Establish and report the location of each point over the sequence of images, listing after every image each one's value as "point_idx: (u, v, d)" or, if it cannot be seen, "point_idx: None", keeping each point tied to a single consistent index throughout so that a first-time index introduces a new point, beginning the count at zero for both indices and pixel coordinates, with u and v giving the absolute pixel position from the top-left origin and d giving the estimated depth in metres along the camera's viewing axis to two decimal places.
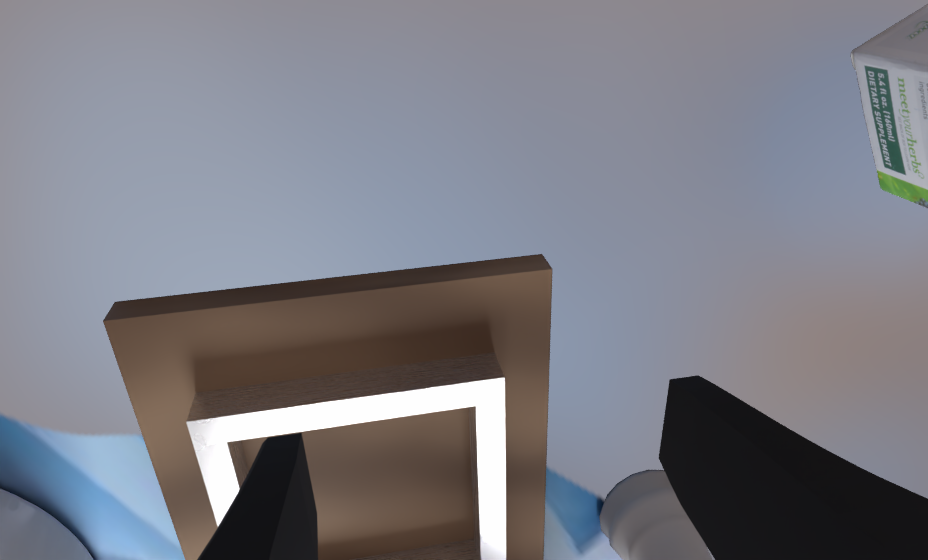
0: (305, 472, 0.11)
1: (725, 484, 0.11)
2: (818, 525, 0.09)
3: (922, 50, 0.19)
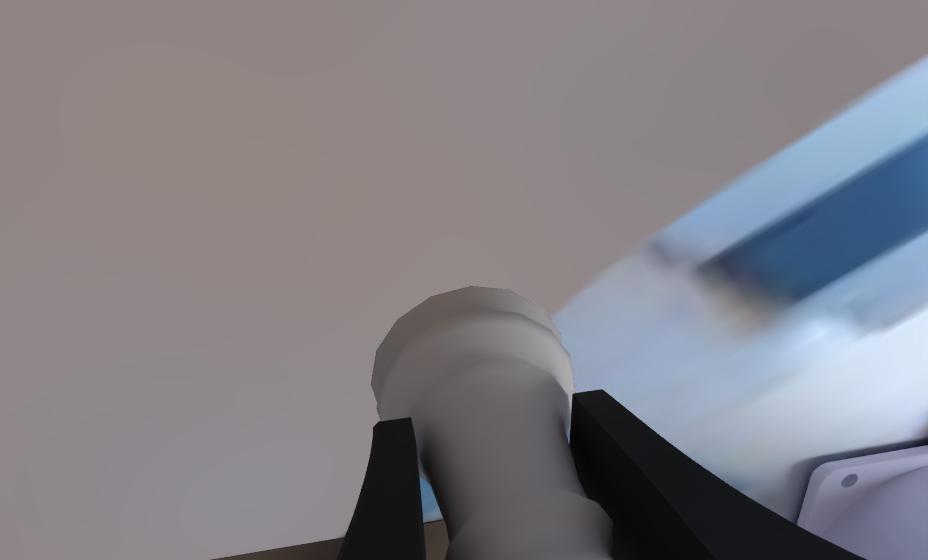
0: None
1: (616, 503, 0.11)
2: (685, 550, 0.09)
3: None
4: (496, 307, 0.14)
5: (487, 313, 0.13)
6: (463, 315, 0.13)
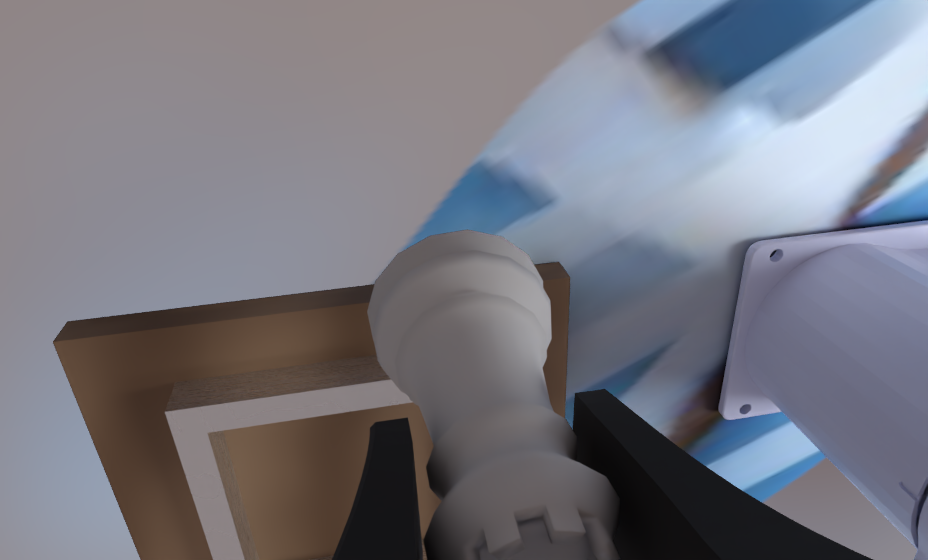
0: None
1: None
2: (688, 549, 0.09)
3: None
4: (488, 251, 0.15)
5: (481, 254, 0.14)
6: (459, 254, 0.14)
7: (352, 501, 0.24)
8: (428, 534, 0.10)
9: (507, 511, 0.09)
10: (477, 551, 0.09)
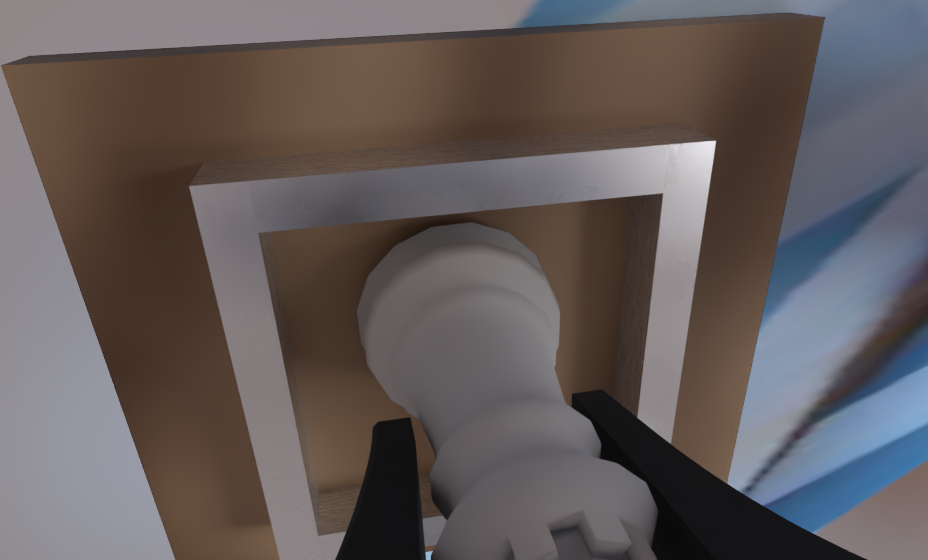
0: None
1: None
2: (684, 550, 0.09)
3: None
4: None
5: (488, 246, 0.13)
6: (464, 245, 0.13)
7: None
8: (437, 548, 0.08)
9: (537, 518, 0.08)
10: None
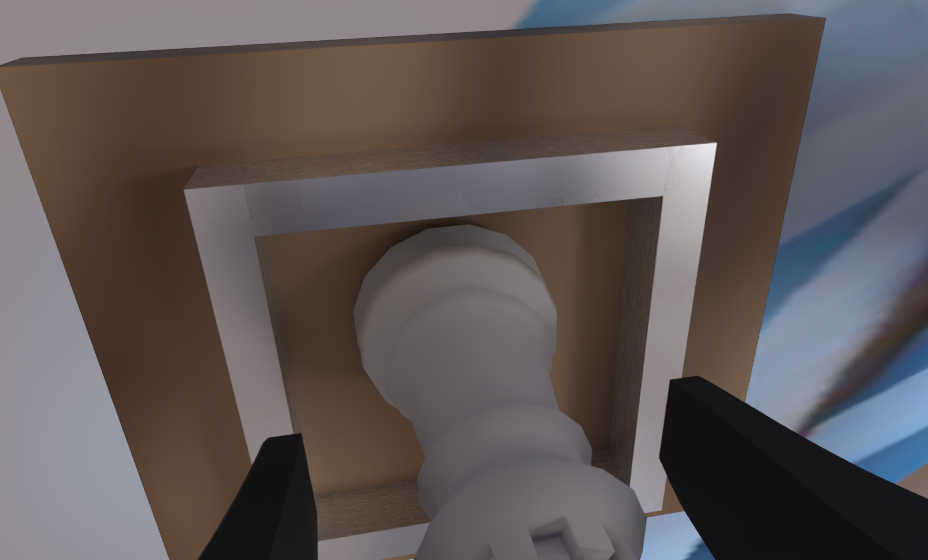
0: (305, 472, 0.11)
1: (725, 484, 0.11)
2: (818, 525, 0.09)
3: None
4: None
5: (484, 249, 0.13)
6: (460, 247, 0.13)
7: None
8: (420, 552, 0.08)
9: (519, 524, 0.08)
10: None
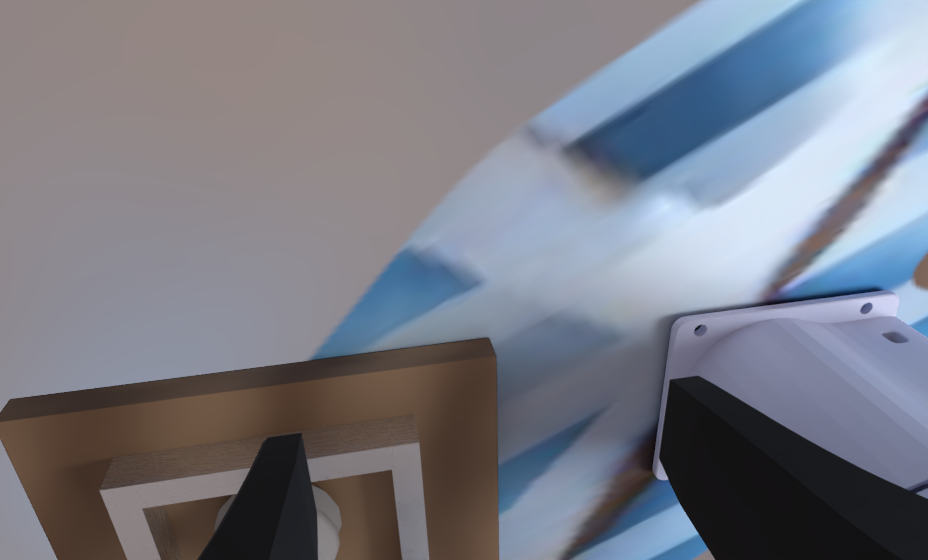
0: (305, 472, 0.11)
1: (725, 484, 0.11)
2: (818, 525, 0.09)
3: None
4: None
5: None
6: None
7: None
8: None
9: None
10: None
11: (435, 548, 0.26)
